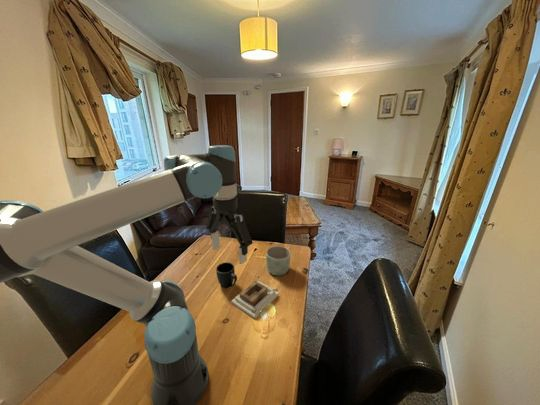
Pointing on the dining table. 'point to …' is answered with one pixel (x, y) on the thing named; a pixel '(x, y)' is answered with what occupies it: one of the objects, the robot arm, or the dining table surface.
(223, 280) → the mug
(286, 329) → the dining table surface
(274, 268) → the planter
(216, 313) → the dining table surface
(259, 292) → the frame
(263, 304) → the white flat rectangular tray
